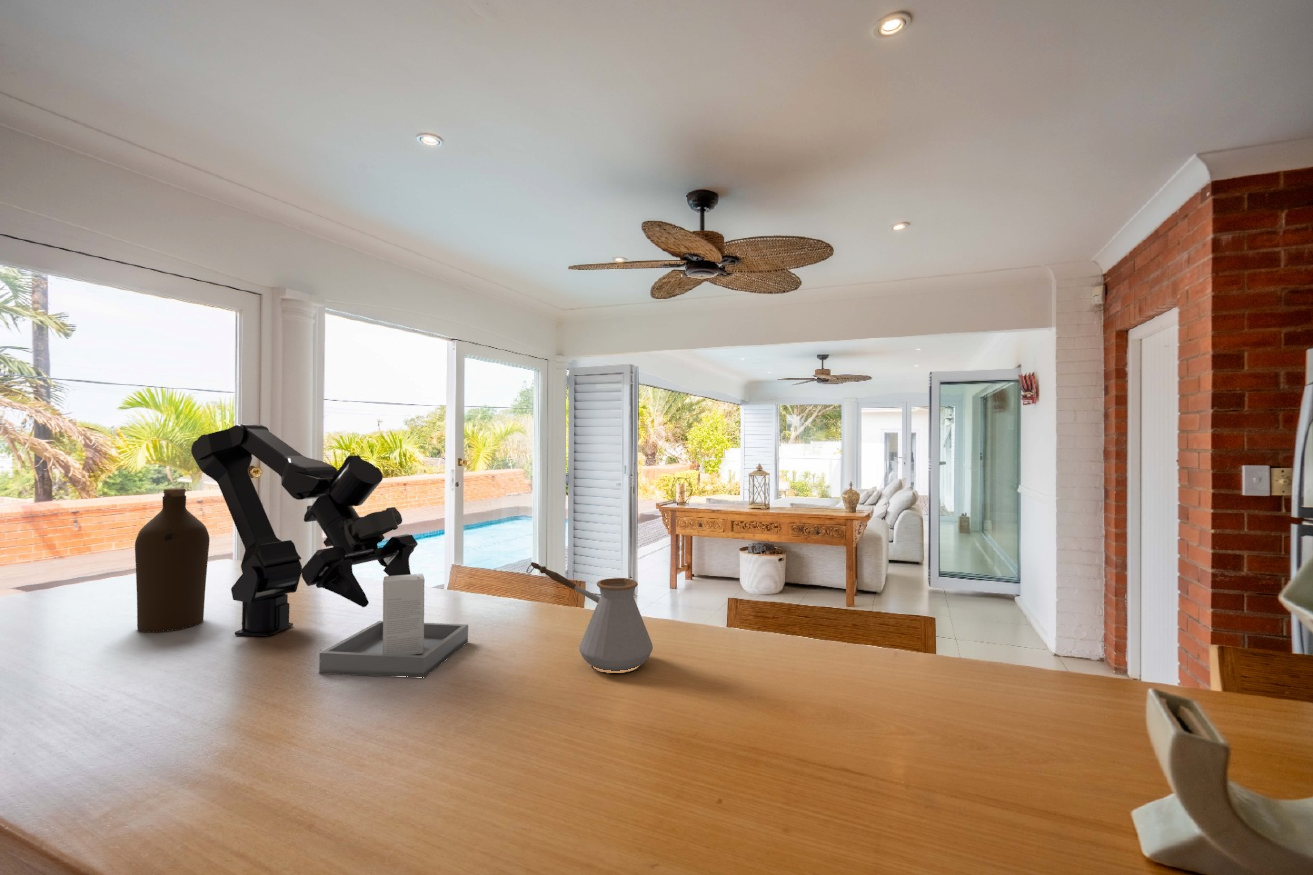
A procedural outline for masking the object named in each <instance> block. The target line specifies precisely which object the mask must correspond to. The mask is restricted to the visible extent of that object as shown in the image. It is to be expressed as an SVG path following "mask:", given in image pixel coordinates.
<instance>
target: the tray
mask: <svg viewBox="0 0 1313 875" xmlns="http://www.w3.org/2000/svg"><path fill="white" fill-rule="evenodd" d="M467 643H469V624H465V623H463V624H461V623H441V622H440V623H439V622H436V623H435V622H424V653H423V654H416V655H396V654H383V620H378V621H376V622H374V623H372V624H371V625H369V626H367V627H365V628H363V629H361V630H360V631H358V632H355V633H354V634H352V635H351V636H349V637H346V638H345V639H342V640H341V641H339V642H337V643H335V644H333V645H331V646H329V647H328V648H326V649H324V650H322V651H320V652H319V657H318V658H319V662H318V663H319V665H318V674H326V675H327V674H328V675H346V676H367V677H368V676H369V677H382V676H406V677H407V676H408V677H422V678H423V677H425V676H426V677H427V676H429V675H430V674H431V673H432V672H434V671H435V670H436V669H437V668H439V667H440V666H441V665H442V664H443V663H444V662H445V660H446V659H447V660H448V659H449V658H450V657H452V656H453V655H454V654H455V653H457V652H458V651H459V650H460V649H461V648H463V647H464V646H465V645H467ZM464 644H465V645H464ZM463 645H464V646H463ZM462 646H463V647H462ZM451 655H452V656H451ZM447 660H446V661H447ZM441 663H442V664H441ZM440 664H441V665H440ZM439 665H440V666H439ZM435 668H436V669H435ZM434 669H435V670H434ZM430 672H431V673H430ZM429 673H430V674H429ZM428 674H429V675H428ZM426 677H425V678H426Z"/></svg>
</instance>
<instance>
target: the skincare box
mask: <svg viewBox="0 0 1313 875" xmlns="http://www.w3.org/2000/svg"><path fill="white" fill-rule="evenodd" d="M382 591H383V592H382V621H383V654H396V655H416V654H423V653H424V623H425V577H424V574H423V573H414V574H412V573H411V575H397V576H388V575H387V576H384V577H383V581H382Z"/></svg>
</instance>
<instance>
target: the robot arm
mask: <svg viewBox="0 0 1313 875" xmlns="http://www.w3.org/2000/svg"><path fill="white" fill-rule="evenodd" d="M191 455H192V457H193V459H194V461H195V463H196V465H197V466H198V467H199V470H200V471H201V472H202V473H204V475H206V476H207V477H209V478H211V479H212V480H214V481H215V482H216V483H217V484H218V487H219V489H220V492H221V494H222V496H223V499H224V501H225V502H224V503H225V505H226V506H227V509H228V511H229V513H230V516H231V518H232V521H233V523H234V526H235V527H236V528H235V529H236V530H237V532H238V535H239V537H240V540H241V541H242V545H243V548H244V550H245V551H244V554H243V557H242V561H241V564H240V569H241V573H242V574H241V575H240V576H239V578H238V579H237V580H236V582H235V583H234V584H233V585H232V586H231V588H230V592H231V596H232V597H231V598H232V600H233V601H237V602H241V603H242V607H241V608H242V609H241V610H242V611H241V629H239V630H235V631H234V635H236V636H252V637H270V636H272V635H276V634H277V633H279V632H282V631H283V630H286V629H289V628H291V627H293V626H294V623H293V622H290V603H289V602H288V598H289V596H288V595H289V594H292V593H296V592H297V590H298V586H299V583H300V579H301V578H302V580H303V581H304V583H305V585H307V587H309V586H315V587H316V588H317V589H320V588H322V589H324V590H327V591H330V592H332V593H333V594H337V595H338V596H341V597H343V598H345V599H347V600H348V601H350V602H351V603H354V604H356V605H358V606H360V607H362V608H365V607H367V606H368V605H369V604H370V602H369V600H368V597H367V595H366V593H365V592H364V589H363V588H362V586H361V585H360V583H359V581H358V580H357V578H356V576H355V575H354V573H353V566H355V565H360V564H365V563H369V562H373V561H374V562H375V561H378V563H379V565H380V566H381V567H382V566H383V567H385V568H384V569H383V570H382V571H383V572H384V573H385V574H386V575H387V576H397V575H411V574H412V573H411V569H410V556H411V554H413V552H414V551H415V549H416V547H417V546H418V545H419V543H418V542H417V540H416V539H415V537H414V535H413V534H406V533H405V534H402V535H395V536H391V537H390V539H388V541H386V543H385V544H384V545H383V546H380V547H379V545H378V544H379V543H381V542H383V541H384V540H385V536H384V535H385V534H387V533H389V532H391V531H397V529H399V526H400V525H401V524H402V523H403V517H402V515H401V513H400V512H399V510H398V509H397V508H396V507H395V506H392V507H387V508H386V509H384V510H381V511H374V512H371V513H368V514H366V515H365V516H360V515H359V514H358V512H357V511H356V510H355V508H354V507H359V506H361V505H363V504H364V503H365V501H366V500H367V499H368V498H369V497H370V495H371V494H373V492H374V491H375V490H376V488H378V486H379V485H380V484H381V483H382V481H383V479H384V478H383V477H384V476H383V473H382V471H381V469H380V468H379V467H377V466H375V465H374V464H372V463H371V462H369V461H367V460H365V459H362V458H361V456H360V455H359V454H358V455H357V454H356V455H354V454H353V455H352V454H351V455H350V454H349V455H348V456H347V457H346V458H345V459H344V461H343V463H342V465H341V466H340V467H339V469H338V468H336V467H335V466H334V465H332V464H330V463H328V462H325V461H322V460H320V459H315V458H310V457H306V456H305V455H303V454H301V452H299V451H297V450H296V449H294V447H292V446H290V445H289V444H287V442H285V441H283V440H281V439H280V438H279V437H278V436H276V435H275V434H274V433H272V432H270V430H269V428H268V427H267V426H265V425H263V424H257V423H256V424H255V423H253V424H252V423H238V424H235V425H233V426H231V427H229V428H227V429H223V430H218V431H213V432H210V433H208V434H206V433H204V434H201V435H200V436H199V437H198V438H197V439H196V440H194V441H193V443H192V445H191ZM253 457H255V459H256V458H257V459H258V460H259V461H260V462H261V463H263V464H264V465H266V466H267V467H268V468H270V469H271V470H272V471H274V472H275V474H278V475H279V477H280V480H281V486H282V487H283V489H285V491H286V492H287V493H288V495H290V496H291V497H292V499H295V500H299V501H300V500H301V501H302V500H311V499H314V500H315V501H314V502H313V503H312V505H307V506H306V511H305V513H304V517H303V522H305V523H309V522H310V523H311V522H316V523H317V524H318V526H319V527H320V529H321V531H322V532H323V533H324V535H325V536H326V538H325V539H324V540H323V541H322V543H323V544H324V547H326V548H322V549H317V550H315V552H314V554H313V555H312V556H311V557H310V558H309V560H308V561H307V562H306V564H305V565H304V566H302V562H301V560H302V557H301V556H300V555H299V553H298V552H297V549H296V545H295V543H294V542H293V541H292V540H290V539H289V540H288V539H287V540H281V539H279V538H278V537H277V535H276V534H275V531H274V528H273V526H272V524H271V521H270V520H269V517H268V514H267V513H266V510H265V508H264V505H263V502H262V501H261V498H260V496H259V494H258V491H257V489H256V487H255V484H254V482H253V480H252V478H251V476H250V473H249V470H250V467H251V463H252V461H253Z"/></svg>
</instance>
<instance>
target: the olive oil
mask: <svg viewBox="0 0 1313 875" xmlns="http://www.w3.org/2000/svg"><path fill="white" fill-rule="evenodd" d="M186 491H187V490H186V488H184V487H183V488H182V487H172V488H171V487H169V488H163V492H162V493H163V496H162V509H161V511H159V513H157V514H156V515H155V516H154V517H153V518H152V519H150V520H149V521H148V522H147V523H146V524H145V525H144V526H143V527H142V528H140V530H139V531H138V534H137V536H136V538H135V543H134V555H135V556H134V557H135V561H134V562H135V577H136V578H135V581H136V582H135V583H136V584H135V585H136V610H137V611H136V613H137V614H136V615H137V616H136V619H137V620H136V621H137V622H136V623H137V625H136V626H137V631H139V632H141V633H163V632H165V633H166V632H173V631H174V632H175V631H179V630H183V629H187V628H192V627H195V626H198V625H200V624H201V623H202V622H204V615H205V598H206V585H207V584H206V583H207V582H206V581H207V571H208V559H209V552H210V550H209V549H210V535H209V534H210V533H209V531H208V529H207V526H206V525H205V524H204V523H203V522H202V521H201V520H199V519H198V518H197V517H196V516H195V515H194V514H192V513H191V512H190V511H189V510H188V509H187V507H186V506H187V505H186V504H187V495H186Z"/></svg>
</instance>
